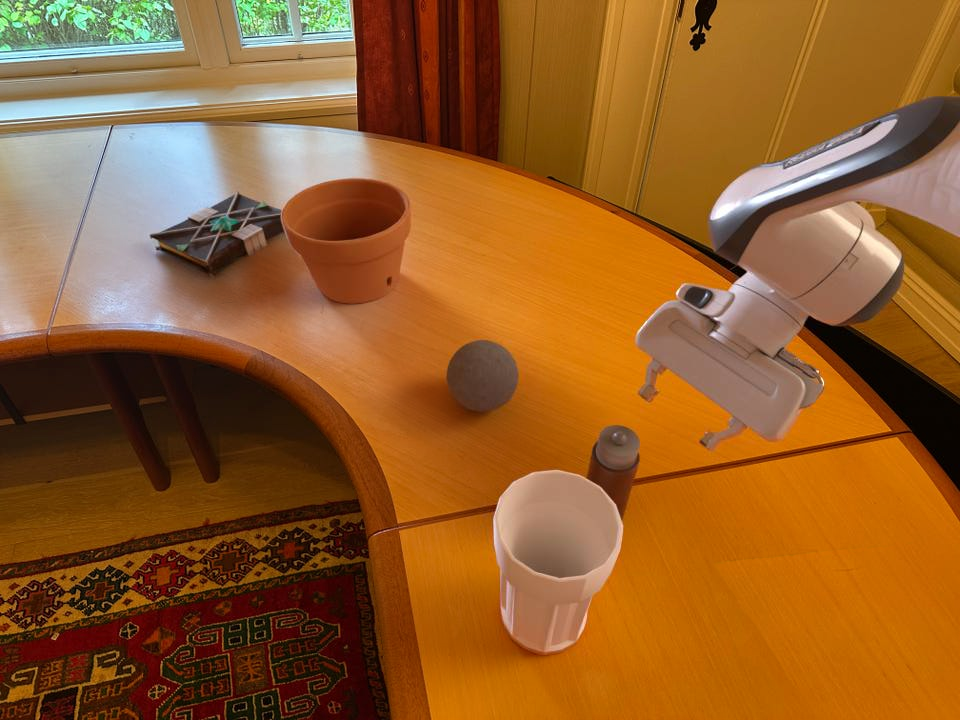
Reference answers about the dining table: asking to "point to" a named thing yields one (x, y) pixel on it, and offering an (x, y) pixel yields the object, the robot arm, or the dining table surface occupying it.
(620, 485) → the pepper mill
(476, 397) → the decorative ball
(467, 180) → the dining table surface
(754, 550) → the dining table surface
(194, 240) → the book
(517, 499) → the cup
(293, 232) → the flower pot
